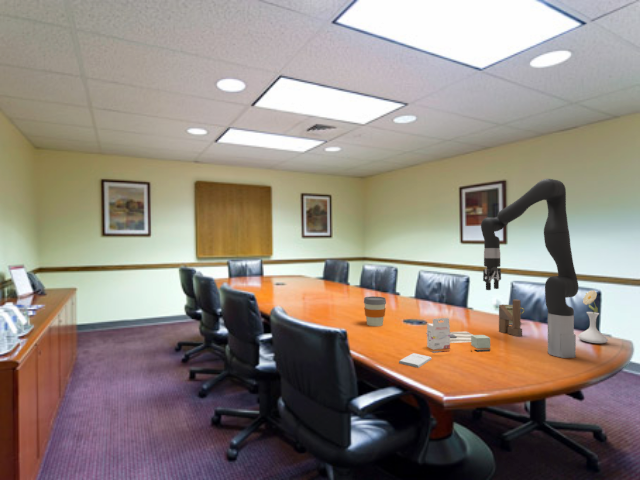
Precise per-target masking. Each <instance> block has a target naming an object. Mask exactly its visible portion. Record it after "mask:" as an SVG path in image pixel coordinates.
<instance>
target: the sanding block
mask: <svg viewBox="0 0 640 480" xmlns="http://www.w3.org/2000/svg"><path fill="white" fill-rule="evenodd" d="M470 344H471V345H470V346H472V347H473V348H475V349H474V351H475V352H477V353H483V352H484V353H485V352H486V353H487V352H491V337H489V336H488V335H485V334H473V335H471V342H470Z"/></svg>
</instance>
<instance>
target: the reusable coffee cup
mask: <svg viewBox="0 0 640 480" xmlns="http://www.w3.org/2000/svg"><path fill="white" fill-rule="evenodd" d="M386 300H387V299H386V297H384V296H366V297H364V298H363V303H364V315H365V317H366V319H365V320H366V325H367V326H370V327H381V326H383V325H384V318H385V314H386V304H387V301H386Z"/></svg>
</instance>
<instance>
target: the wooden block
mask: <svg viewBox="0 0 640 480" xmlns="http://www.w3.org/2000/svg"><path fill="white" fill-rule="evenodd" d="M504 305H505V304H498V332H499V333H502V334H508V335H511V336H515V337H522V336H523V328H522V327H521V326H522V325H521V315H522V314H521V313H522V312H521V308H522V307H521V300H520V299H516V298H514V299H512V305H513V316H512V315H511V314H510V312H509V311H508V310H507V308H506V307H505V306H504ZM509 320H510V321H512V325H509Z"/></svg>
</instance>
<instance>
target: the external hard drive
mask: <svg viewBox="0 0 640 480" xmlns="http://www.w3.org/2000/svg"><path fill="white" fill-rule="evenodd" d="M429 361H432V357H431V356H428V355H424V354H419V353H414V352H413V353H411V354H409V355H407V356H405V357H403V358H402V359H400V360H399V361H398V364H401V365H405V366H409V367H413V368H417V369H418V368H420V367H422V366H423V365H425V364H426V363H428V362H429Z"/></svg>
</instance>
